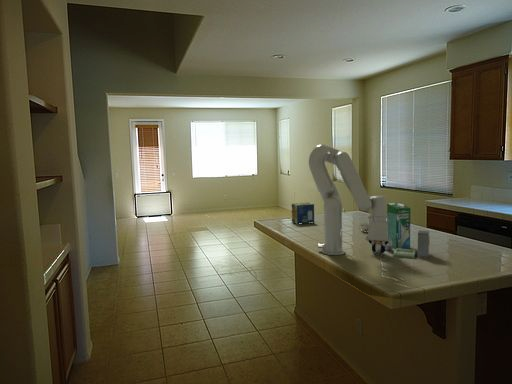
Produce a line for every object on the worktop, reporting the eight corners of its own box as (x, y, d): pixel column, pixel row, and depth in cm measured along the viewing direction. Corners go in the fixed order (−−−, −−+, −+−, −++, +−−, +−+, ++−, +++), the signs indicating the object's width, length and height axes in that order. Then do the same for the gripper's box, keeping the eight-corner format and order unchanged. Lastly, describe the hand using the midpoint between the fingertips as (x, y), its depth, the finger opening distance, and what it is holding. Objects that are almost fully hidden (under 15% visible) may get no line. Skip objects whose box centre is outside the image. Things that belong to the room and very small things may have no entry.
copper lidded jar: (373, 254, 204) (373, 241, 203) (375, 252, 207) (375, 239, 207) (381, 255, 202) (382, 242, 201) (383, 253, 206) (383, 240, 205)
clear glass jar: (384, 251, 210) (384, 238, 209) (385, 249, 214) (385, 237, 213) (392, 251, 208) (392, 239, 207) (393, 249, 212) (393, 237, 211)
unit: (417, 257, 195) (417, 233, 194) (418, 253, 202) (418, 230, 201) (429, 258, 193) (429, 233, 192) (429, 254, 199) (430, 231, 198)
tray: (393, 256, 198) (393, 252, 198) (395, 251, 207) (395, 248, 207) (414, 258, 194) (414, 254, 194) (415, 253, 203) (415, 249, 203)
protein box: (291, 222, 307) (291, 203, 306) (309, 221, 312) (308, 202, 310) (296, 224, 297) (296, 205, 296) (314, 223, 302) (314, 203, 300)
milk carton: (396, 249, 213) (396, 204, 211) (386, 245, 222) (387, 203, 220) (410, 247, 216) (410, 203, 213) (400, 244, 224) (400, 202, 222)
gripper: (361, 219, 203) (361, 252, 205) (394, 220, 196) (394, 255, 198) (363, 217, 210) (364, 249, 212) (395, 218, 202) (395, 252, 204)
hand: (378, 252), depth 205 cm, fingers closed on copper lidded jar, 4 cm apart
